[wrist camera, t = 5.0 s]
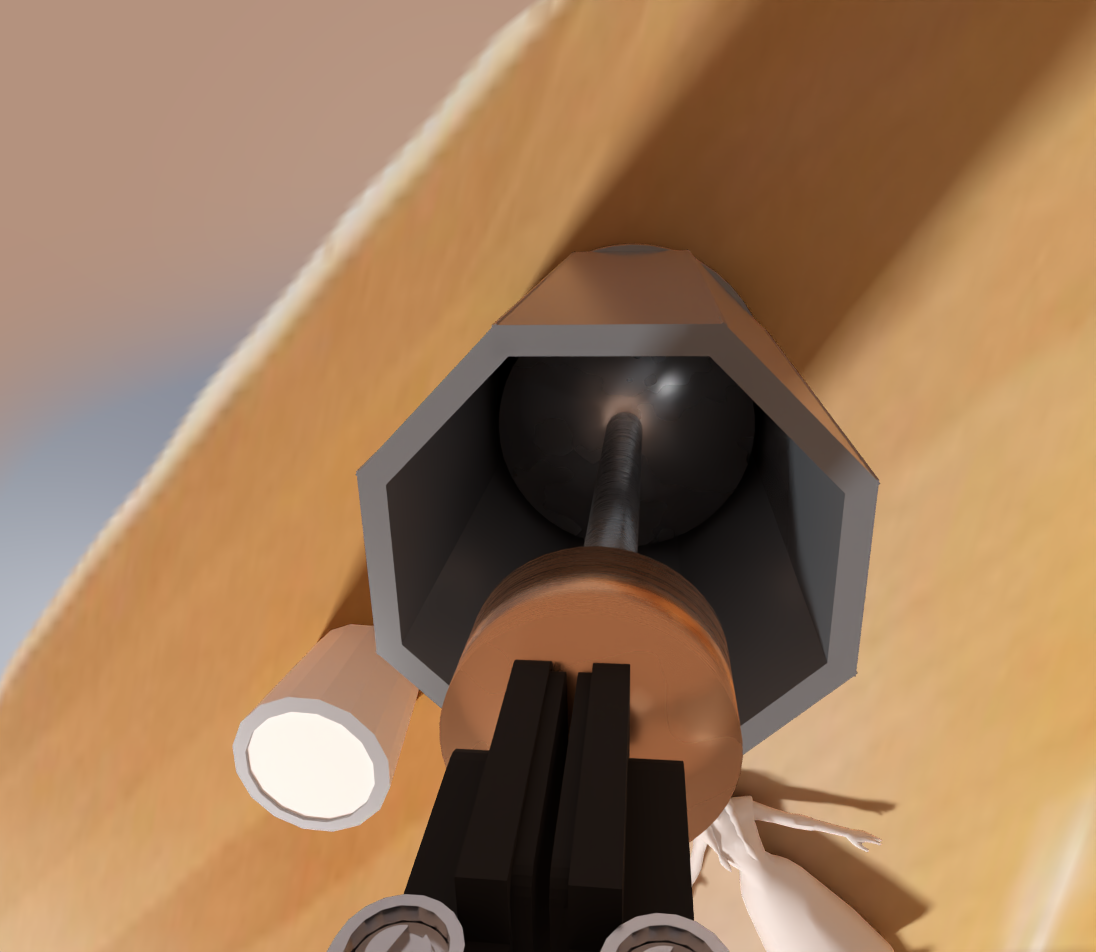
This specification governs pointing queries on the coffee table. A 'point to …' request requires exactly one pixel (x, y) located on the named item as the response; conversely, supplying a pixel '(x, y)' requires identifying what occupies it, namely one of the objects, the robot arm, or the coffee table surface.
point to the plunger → (617, 556)
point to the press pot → (698, 555)
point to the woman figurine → (786, 883)
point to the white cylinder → (327, 734)
